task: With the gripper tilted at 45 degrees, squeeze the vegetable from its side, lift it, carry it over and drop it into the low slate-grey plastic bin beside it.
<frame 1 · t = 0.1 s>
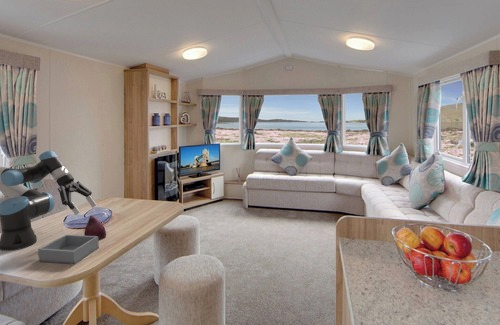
hand: (86, 209, 155), 15 cm above the table, tool tilted 35°, fingers open, 13 cm apart
slate bin: (70, 254, 136), on the table
vegetable: (95, 238, 156), on the table
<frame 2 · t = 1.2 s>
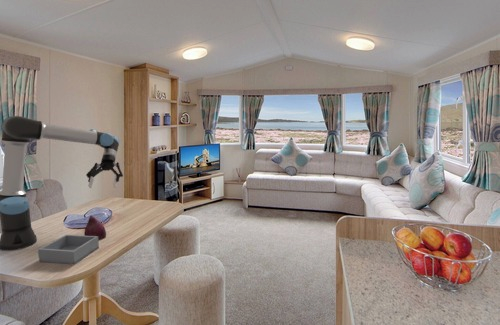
hand: (102, 186, 169), 24 cm above the table, tool tilted 45°, fingers open, 13 cm apart
nothing on the table moved.
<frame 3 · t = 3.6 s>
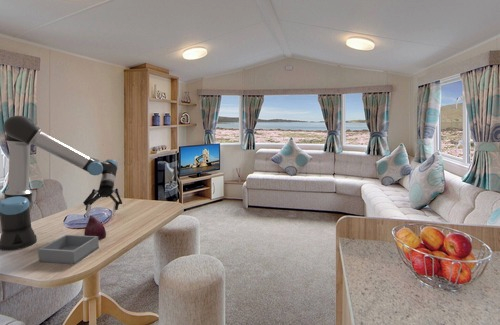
hand: (100, 215, 160), 11 cm above the table, tool tilted 45°, fingers open, 13 cm apart
nothing on the table moved.
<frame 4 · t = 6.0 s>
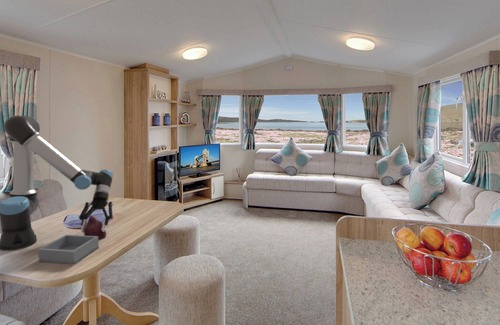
hand: (92, 231, 152), 5 cm above the table, tool tilted 45°, fingers closed on vegetable, 9 cm apart
vegetable: (95, 238, 156), on the table, touching gripper
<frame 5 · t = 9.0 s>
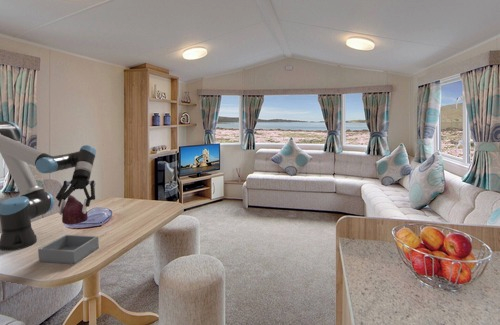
hand: (71, 212, 134), 20 cm above the table, tool tilted 45°, fingers closed on vegetable, 9 cm apart
vegetable: (75, 221, 138), point 15 cm above the table, touching gripper
when the fingers open (9 cm above the table, at t = 12.1 s): vegetable drops 3 cm, resting on slate bin.
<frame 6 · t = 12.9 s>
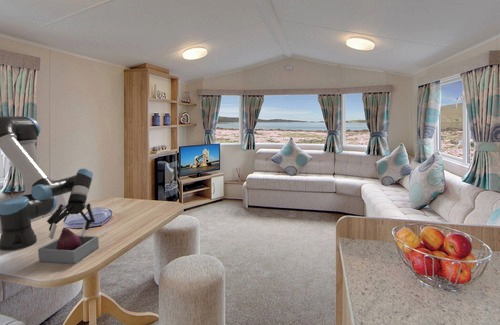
hand: (66, 237, 133), 10 cm above the table, tool tilted 45°, fingers open, 13 cm apart
vegetable: (70, 252, 136), point 1 cm above the table, touching slate bin
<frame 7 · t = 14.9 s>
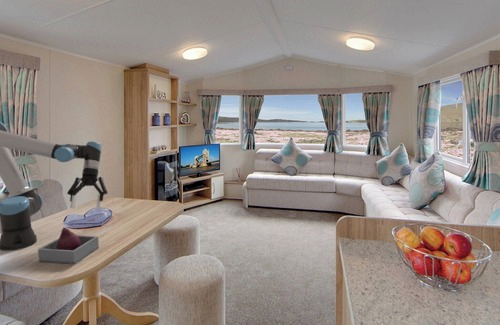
hand: (85, 207, 154), 17 cm above the table, tool tilted 25°, fingers open, 13 cm apart
nothing on the table moved.
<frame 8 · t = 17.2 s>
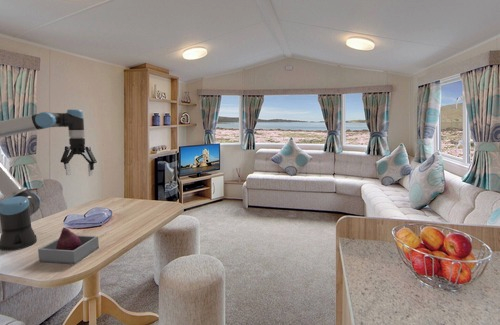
hand: (79, 175, 164), 32 cm above the table, tool pointing down, fingers open, 13 cm apart
nothing on the table moved.
at the end: vegetable inside the target area on the slate bin (0.2 cm from its centre), point 0.8 cm above the slate bin's base; the gripper is holding nothing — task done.
